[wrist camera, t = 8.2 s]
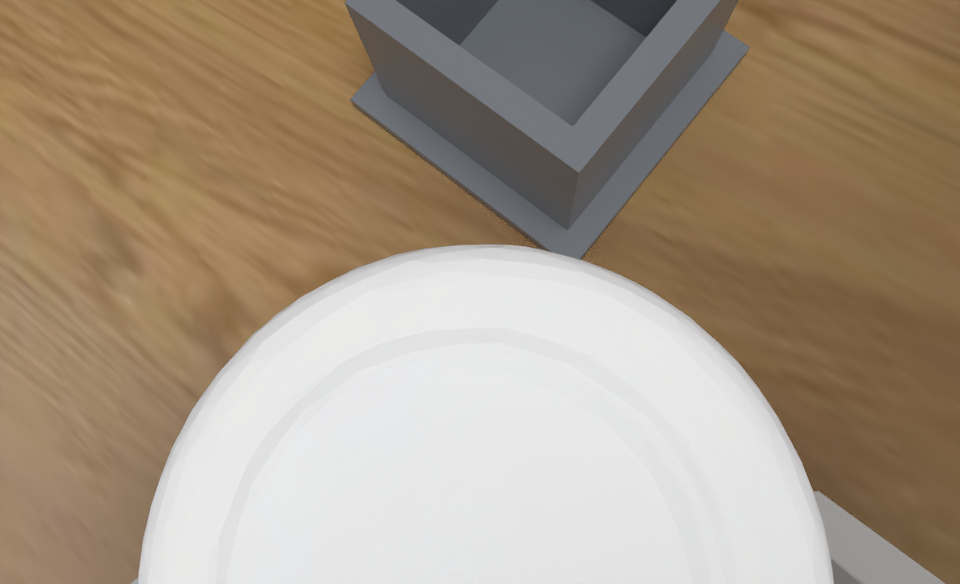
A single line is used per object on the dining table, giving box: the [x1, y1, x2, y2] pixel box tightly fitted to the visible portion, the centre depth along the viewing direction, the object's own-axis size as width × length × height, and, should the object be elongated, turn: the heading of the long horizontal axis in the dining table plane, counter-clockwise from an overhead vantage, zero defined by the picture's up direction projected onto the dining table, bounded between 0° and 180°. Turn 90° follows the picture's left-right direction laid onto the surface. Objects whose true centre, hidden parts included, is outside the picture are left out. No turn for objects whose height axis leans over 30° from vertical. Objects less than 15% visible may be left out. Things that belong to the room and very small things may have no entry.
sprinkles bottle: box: [138, 244, 834, 584], centre depth 11 cm, size 5×5×14 cm
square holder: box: [345, 0, 750, 260], centre depth 24 cm, size 11×11×7 cm
